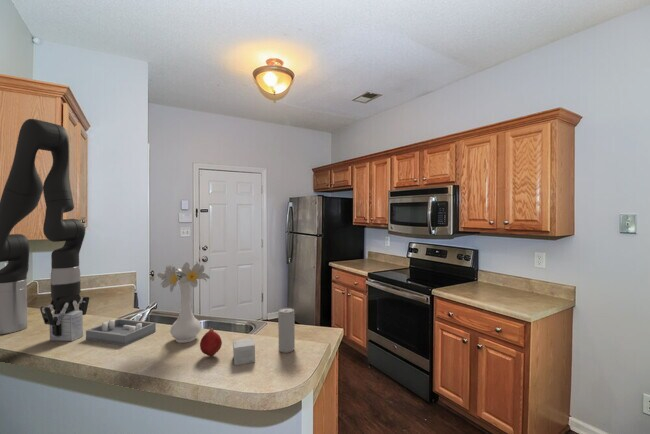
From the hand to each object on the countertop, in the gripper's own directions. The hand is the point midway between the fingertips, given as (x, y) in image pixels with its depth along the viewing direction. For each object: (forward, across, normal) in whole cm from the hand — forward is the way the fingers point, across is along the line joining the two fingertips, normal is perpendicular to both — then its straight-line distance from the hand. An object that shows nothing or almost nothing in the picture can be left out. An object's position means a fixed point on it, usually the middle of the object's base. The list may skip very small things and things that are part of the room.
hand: (66, 332), depth 105 cm
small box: (+2, -3, +63) cm, 63 cm away
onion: (+2, -2, +53) cm, 53 cm away
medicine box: (+2, 0, 0) cm, 2 cm away
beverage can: (+2, -12, +72) cm, 73 cm away
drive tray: (+2, -7, +15) cm, 17 cm away
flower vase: (+2, -10, +37) cm, 38 cm away
